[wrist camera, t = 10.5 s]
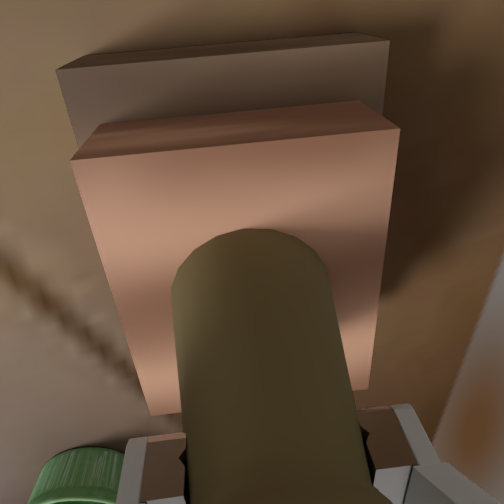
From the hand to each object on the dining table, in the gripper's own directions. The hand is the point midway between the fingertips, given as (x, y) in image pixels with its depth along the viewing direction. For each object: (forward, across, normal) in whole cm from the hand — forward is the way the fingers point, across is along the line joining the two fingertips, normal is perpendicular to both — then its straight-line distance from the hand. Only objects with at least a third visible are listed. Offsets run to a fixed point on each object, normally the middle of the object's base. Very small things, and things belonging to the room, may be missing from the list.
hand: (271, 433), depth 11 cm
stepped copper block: (+14, 0, 0) cm, 14 cm away
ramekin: (+14, -14, -23) cm, 30 cm away
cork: (+6, 0, 0) cm, 6 cm away
